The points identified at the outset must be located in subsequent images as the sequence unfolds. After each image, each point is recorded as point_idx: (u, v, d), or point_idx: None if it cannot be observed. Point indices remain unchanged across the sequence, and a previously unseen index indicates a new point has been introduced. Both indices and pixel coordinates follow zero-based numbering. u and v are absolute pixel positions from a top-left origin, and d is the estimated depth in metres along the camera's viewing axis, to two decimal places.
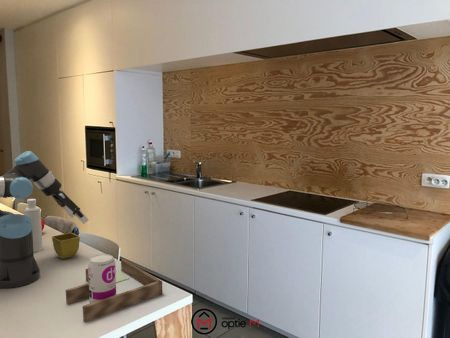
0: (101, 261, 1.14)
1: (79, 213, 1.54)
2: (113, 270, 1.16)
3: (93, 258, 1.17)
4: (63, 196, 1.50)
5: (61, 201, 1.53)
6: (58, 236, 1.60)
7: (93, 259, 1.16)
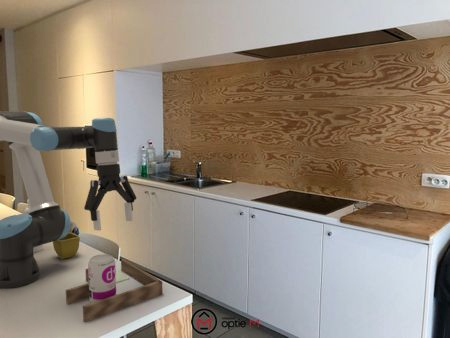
0: (101, 261, 1.14)
1: (92, 214, 1.19)
2: (113, 270, 1.16)
3: (93, 258, 1.17)
4: (92, 184, 1.19)
5: (98, 189, 1.23)
6: None
7: (93, 259, 1.16)
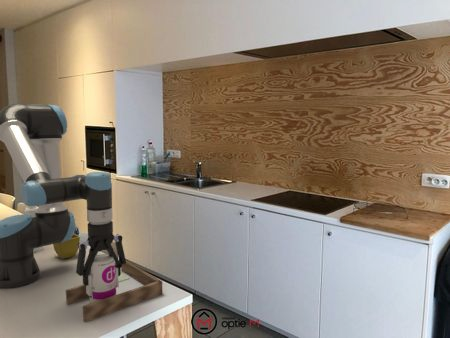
0: (101, 261, 1.14)
1: (83, 278, 1.13)
2: (113, 270, 1.16)
3: None
4: (80, 248, 1.12)
5: (90, 249, 1.15)
6: None
7: None
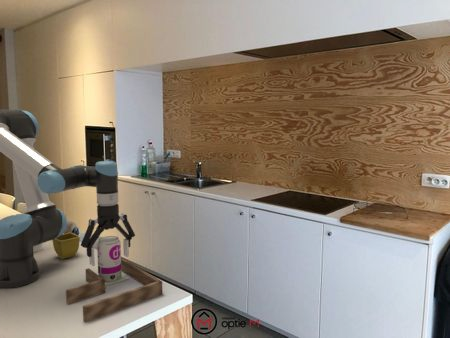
0: (108, 241, 1.33)
1: (87, 250, 1.30)
2: (119, 249, 1.35)
3: (101, 239, 1.35)
4: (90, 223, 1.30)
5: (97, 227, 1.33)
6: None
7: (101, 239, 1.34)
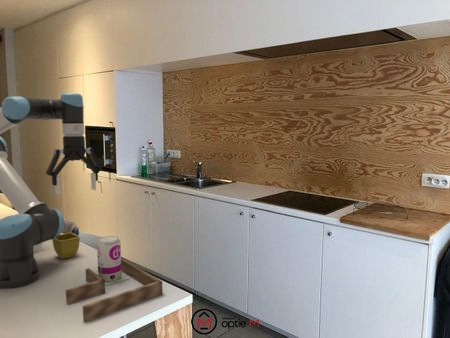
0: (108, 241, 1.33)
1: (52, 179, 1.33)
2: (119, 249, 1.35)
3: (101, 239, 1.35)
4: (55, 152, 1.33)
5: (63, 158, 1.36)
6: (58, 236, 1.60)
7: (101, 239, 1.34)
